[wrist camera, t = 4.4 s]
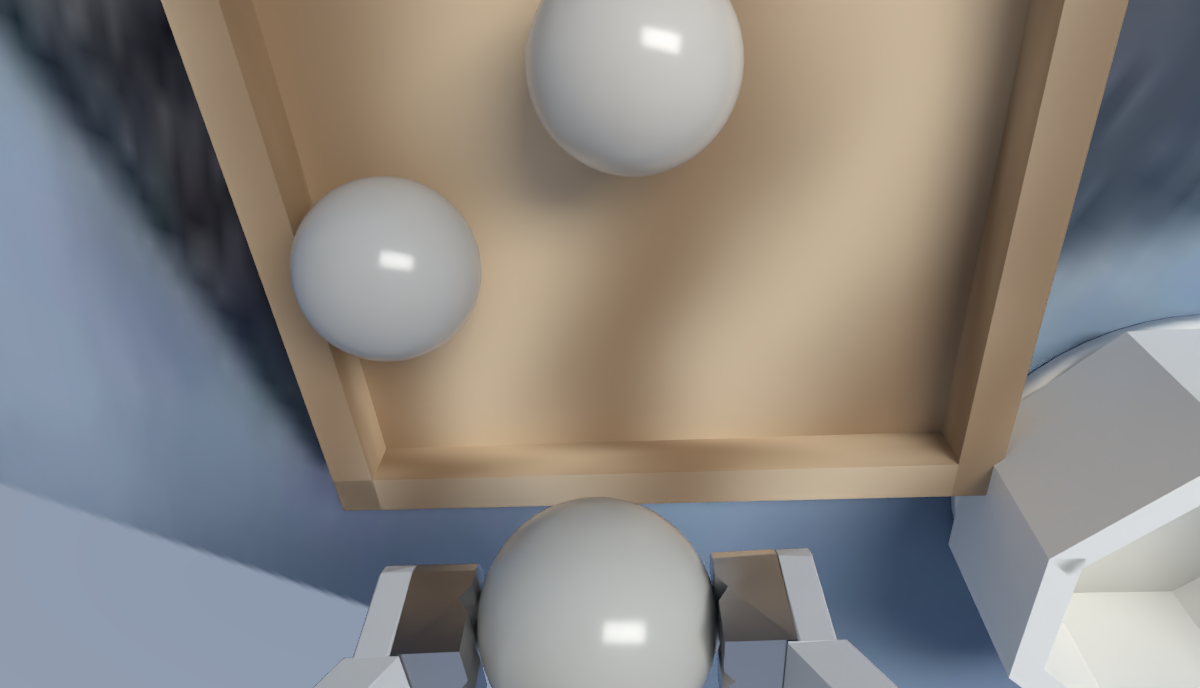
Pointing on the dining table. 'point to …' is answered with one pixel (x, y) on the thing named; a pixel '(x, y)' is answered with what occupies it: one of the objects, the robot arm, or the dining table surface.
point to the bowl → (1096, 518)
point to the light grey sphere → (597, 602)
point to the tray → (677, 246)
